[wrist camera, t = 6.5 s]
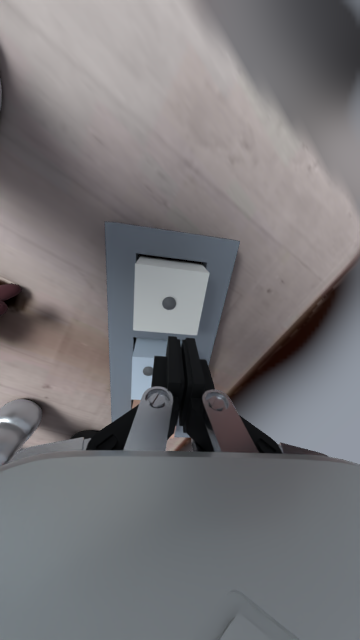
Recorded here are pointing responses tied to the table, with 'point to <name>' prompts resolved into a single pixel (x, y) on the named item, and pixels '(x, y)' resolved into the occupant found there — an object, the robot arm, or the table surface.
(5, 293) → the icecream
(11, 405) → the plastic bottle
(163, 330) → the tile one
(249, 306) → the table surface
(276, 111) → the table surface
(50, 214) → the table surface
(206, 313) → the panel
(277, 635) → the robot arm
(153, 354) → the tile two
